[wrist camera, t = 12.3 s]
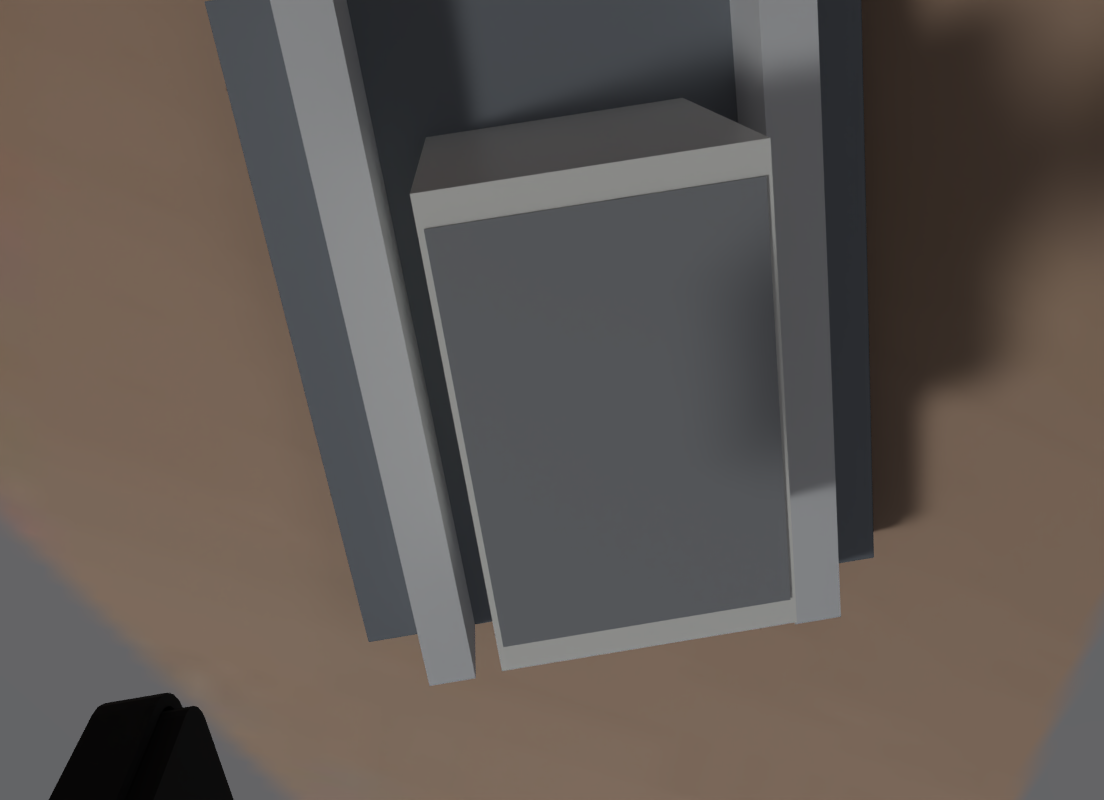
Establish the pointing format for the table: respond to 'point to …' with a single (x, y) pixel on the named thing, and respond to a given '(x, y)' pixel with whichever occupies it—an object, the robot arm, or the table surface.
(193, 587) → the table surface
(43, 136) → the table surface
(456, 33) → the grey rail base plate
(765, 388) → the block
